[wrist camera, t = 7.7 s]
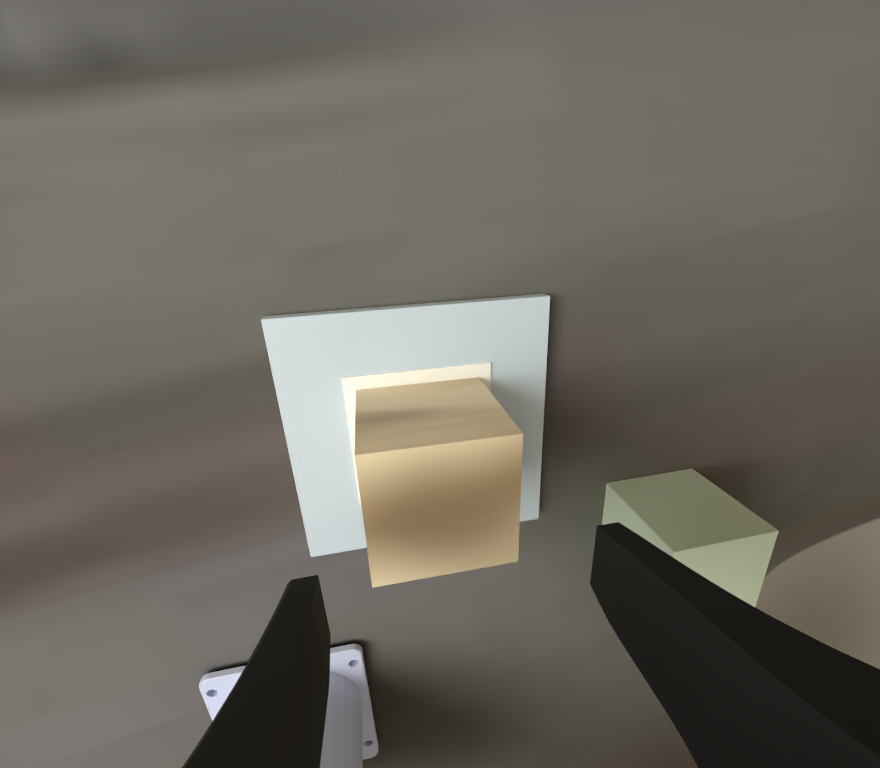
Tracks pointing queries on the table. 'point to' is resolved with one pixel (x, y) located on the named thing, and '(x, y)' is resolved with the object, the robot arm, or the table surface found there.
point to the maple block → (437, 479)
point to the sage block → (696, 527)
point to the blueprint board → (392, 364)
